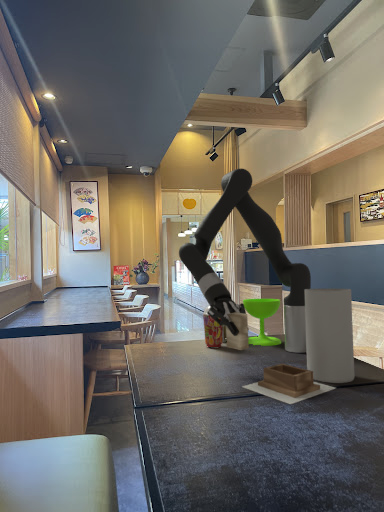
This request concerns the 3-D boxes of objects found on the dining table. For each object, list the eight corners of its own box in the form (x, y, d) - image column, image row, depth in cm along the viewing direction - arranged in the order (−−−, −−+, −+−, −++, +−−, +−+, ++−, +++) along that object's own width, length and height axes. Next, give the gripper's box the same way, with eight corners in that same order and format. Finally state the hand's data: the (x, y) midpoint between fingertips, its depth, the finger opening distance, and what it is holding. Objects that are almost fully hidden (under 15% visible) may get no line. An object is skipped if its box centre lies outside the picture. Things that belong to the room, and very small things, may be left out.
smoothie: (200, 346, 149) (199, 297, 150) (217, 344, 153) (216, 296, 153) (209, 349, 142) (208, 298, 142) (227, 347, 145) (226, 297, 146)
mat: (286, 375, 105) (286, 374, 105) (336, 389, 92) (336, 387, 92) (241, 388, 95) (241, 386, 95) (290, 405, 82) (290, 404, 82)
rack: (283, 378, 101) (282, 362, 101) (320, 389, 92) (319, 371, 92) (257, 385, 96) (257, 368, 96) (294, 397, 86) (294, 378, 86)
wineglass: (253, 347, 145) (252, 302, 146) (237, 340, 160) (236, 299, 161) (288, 344, 150) (287, 300, 150) (270, 337, 165) (268, 298, 166)
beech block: (234, 345, 110) (233, 312, 110) (248, 348, 105) (247, 314, 106) (226, 346, 108) (225, 313, 109) (240, 350, 103) (239, 315, 104)
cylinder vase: (359, 385, 95) (355, 290, 96) (310, 383, 97) (307, 291, 98) (349, 372, 107) (345, 288, 108) (305, 370, 110) (302, 288, 111)
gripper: (201, 283, 109) (229, 328, 99) (235, 281, 118) (265, 322, 107) (191, 299, 114) (217, 344, 103) (225, 296, 122) (253, 337, 111)
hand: (241, 333), depth 105 cm, fingers closed on beech block, 3 cm apart
